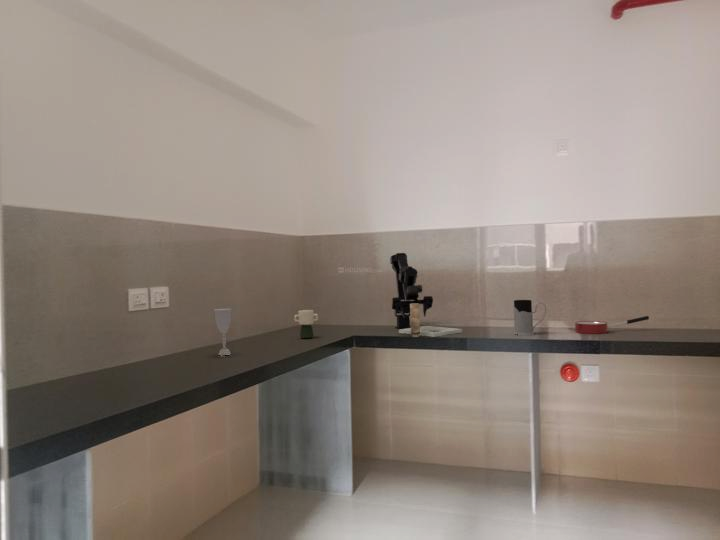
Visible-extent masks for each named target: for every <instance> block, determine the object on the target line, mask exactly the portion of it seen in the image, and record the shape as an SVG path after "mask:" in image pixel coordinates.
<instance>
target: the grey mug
mask: <svg viewBox="0 0 720 540" xmlns="http://www.w3.org/2000/svg"><path fill="white" fill-rule="evenodd" d="M532 301H533V300H531V299H516V300H513V325H514V332H513V335H514V334H518V335H517V336H522V335H527V336H533V335H532V334H534V335H535V333H534V329H535V328H536V326H537V325H539V324H540V323H541V322H542V321H543V320H544V318H545V317H546V314H547V307H546V304H545V303H543V302H538V303H537V304H536V305H535V311H532V310H533V308H532V307H533V306H532ZM540 304H542V305H544V314H543V316H542V318H541V320H539V322H537V323H536V324H535V325H533V323H534V322H533V314H535V313H536V312H537V307H538V306H539V305H540Z"/></svg>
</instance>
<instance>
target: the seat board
mask: <svg viewBox="0 0 720 540" xmlns="http://www.w3.org/2000/svg"><path fill="white" fill-rule="evenodd" d="M399 333H400V334H405V333H406V334H408V335H412V334H411V328H405V329H401V328H399V329H398V334H399ZM458 333H459V334H460V333H463V329H462V328H453V327H445V326H434V325H422V326H421V325H420V334H419V336H423V337H424V336H425V337H430V338H431V337H432V338H434V337H441V336H448V335H453V334H458Z"/></svg>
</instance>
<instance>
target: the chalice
mask: <svg viewBox="0 0 720 540" xmlns="http://www.w3.org/2000/svg"><path fill="white" fill-rule="evenodd" d="M213 311H214V313H215V315H214V316H215V317H214V318H215V325H216V327H217V329H218V330H219V333H221V334H222V338H221V340H222V342H221V344H222V348H221V349H220V350H219V352H218V355H221V356H220V357H223V356H222V355H230V354H231V351H230V349H229V348H227V347H226V344H227V341H226V339H227V337H226V333H227V332H228V331H229V329H230V326H231V323H232V322H231V321H232V318H231V317H232V314H231V313H232V308H215V309H213ZM231 355H232V354H231ZM231 355H230V356H231Z"/></svg>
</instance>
